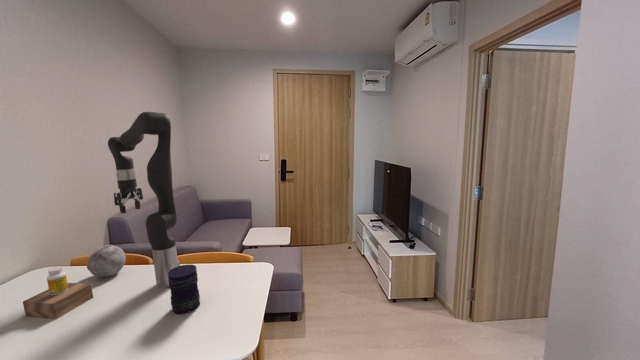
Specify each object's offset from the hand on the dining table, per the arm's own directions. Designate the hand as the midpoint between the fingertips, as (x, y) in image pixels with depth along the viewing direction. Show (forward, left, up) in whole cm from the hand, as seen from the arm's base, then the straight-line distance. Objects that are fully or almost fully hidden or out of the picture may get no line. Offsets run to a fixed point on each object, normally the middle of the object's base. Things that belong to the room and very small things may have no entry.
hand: (130, 211), depth 137 cm
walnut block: (+5, +33, -30) cm, 45 cm away
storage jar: (-46, +28, -30) cm, 62 cm away
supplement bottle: (+5, +33, -24) cm, 41 cm away
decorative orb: (+9, +8, -30) cm, 33 cm away
